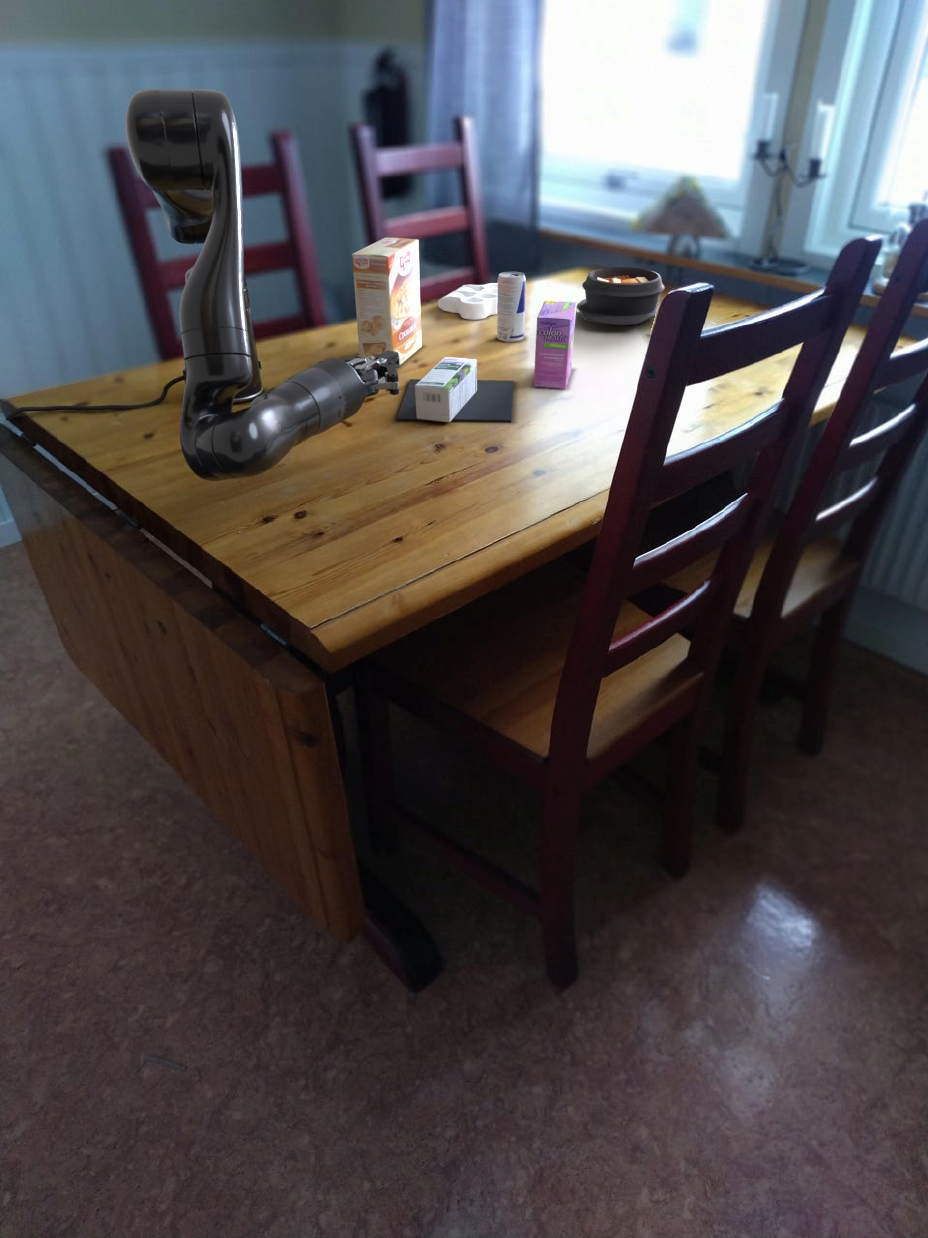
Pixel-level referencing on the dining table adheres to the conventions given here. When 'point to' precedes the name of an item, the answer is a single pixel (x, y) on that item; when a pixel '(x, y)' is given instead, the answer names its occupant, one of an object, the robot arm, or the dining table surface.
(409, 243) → the coffeecake box
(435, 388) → the syrup box
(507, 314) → the energy drink
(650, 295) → the casserole
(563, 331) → the box
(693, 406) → the dining table surface
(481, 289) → the white cupped tray
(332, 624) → the dining table surface
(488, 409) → the mat
